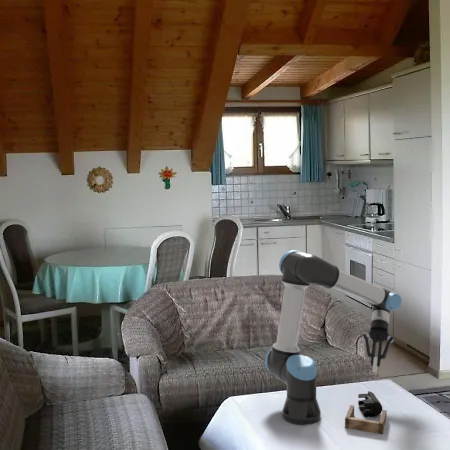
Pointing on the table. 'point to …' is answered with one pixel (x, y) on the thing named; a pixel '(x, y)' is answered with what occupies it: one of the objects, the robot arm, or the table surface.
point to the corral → (365, 422)
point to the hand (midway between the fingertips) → (374, 372)
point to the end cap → (369, 405)
